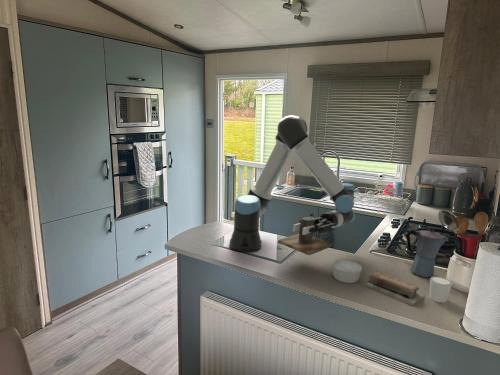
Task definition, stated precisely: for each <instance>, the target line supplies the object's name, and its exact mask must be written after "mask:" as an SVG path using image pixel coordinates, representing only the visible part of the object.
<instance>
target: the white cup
mask: <svg viewBox="0 0 500 375" xmlns="http://www.w3.org/2000/svg"><path fill="white" fill-rule="evenodd" d="M452 286H453V282H452V281H450V280H449V279H447V278H445V277H441V276H433V277H431V278H429V293H428V297H430V298H431V299H430V298H429V299H430V300H431V301H433V300H434V301H433V302H436V301H437V302H436V303H439V302H446V301H447V302H448V299H449V296H450V293H451V290H452ZM447 302H446V303H447Z"/></svg>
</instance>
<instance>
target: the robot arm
mask: <svg viewBox="0 0 500 375" xmlns="http://www.w3.org/2000/svg"><path fill="white" fill-rule="evenodd" d="M307 133H308V124H307V122H306V120H304V118H302V117H301V116H298V115H296V114H295V115H286V116H284V117H283V118H281V119H280V120H279V122H278V124H277V133H276V135H275V137H274V138H275V145H274V147H273V149H272V151H271V153H270V156H269V157H268V159H267V162H266V163H265V165H264V167H263V169H262V171H261V173H260V175H259V177H258V179H257V181H256V183H255V185H254V186H251V187H250V189H249V191H248V193H247V194H244V195H240V196H239V197H236V199H235V201H234V206H233V207H234V220H233V221H234V222H233V232H232V234H231V237H230V240H229V247H230V248H231V249H232V250H233V251H237V252H242V253H253V252H258V251H259V250H261V249H262V244H263V243H262V240H261V235H260V218H262V216H263V215H264V214H265V213H266V212H267V211H268V209H269V205H270V202H271V201H272V199H273V196H272V192H273V190H274V188H275V186H276V184H277V183H278V181H279V178H280V176H281V175H282V173H283V171H284V169H285V166H286V165H287V163H288V161H289V159H290V157H291V155H292V153H293V152H294V153H295V154H296V155H297V156H298V157H299V159H300V161H301V162H302V163H303V164H304V165H305V167H306V168H307V170H309V172H310V173H311V174H312V176H313V177H314V179H315V180H316V181H317V183H318V184H319V185H320V186H321V188H322V190H324V191H325V194H327V196H328V197H329V198H330V199H331V201H332V203H334V206H335V207H334V208H335V209H334V210H330V211H326V212H324V213H322V214H321V215H320V216H318V217H315V218H314V217H313V216H311V215H310V216H308V217H309V218H312V219H315V220H314V225H311V226H308V227H304V228H303V232H302V234H303V235H305V234H308V233H311V232H313V233H314V232H315V233H319V234H322V233H326V232H329V231H335V230H336V228H339V227H342V226H344V225H348V224H350V223H352V222H353V221H354V220H355V217H356V214H355V211H354V209H353V208H354V206H355V200H354V199H355V198H354V196H355V187H356V186H355V185H354V184H352V183H348V182H341V180H340V179H339V178H338V177H337V176H336V174H335V173H334V171H333V170H332V168H331V167H330V166H329V164H327V162H326V161H325V160H324V158H323V156H321V154H320V153H319V152H318V150H317V149H316V148H315V147H314V145H313V144H312V143H311V141H310V136H309V135H308V134H307ZM300 221H301V219H299V221H298V222H297V223H295V224H293V225H292V226H293V227H292V232H297V231H298V232H299V231H300Z"/></svg>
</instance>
